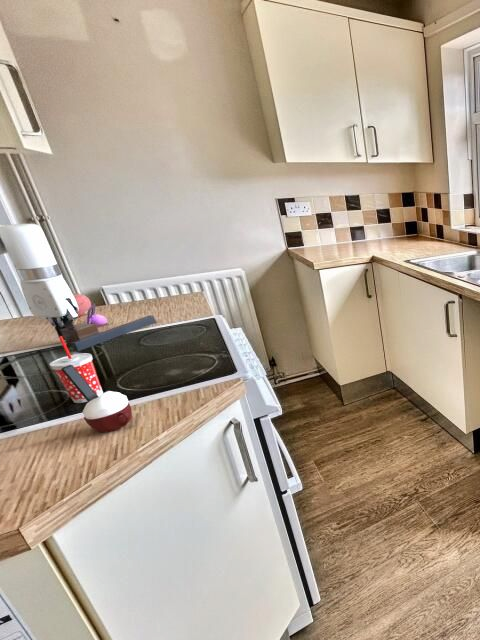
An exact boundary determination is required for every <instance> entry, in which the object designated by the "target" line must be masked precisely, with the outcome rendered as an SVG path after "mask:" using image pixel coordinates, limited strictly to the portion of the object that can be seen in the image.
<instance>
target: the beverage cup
mask: <svg viewBox="0 0 480 640" xmlns="http://www.w3.org/2000/svg"><path fill="white" fill-rule="evenodd" d="M58 339H59V341H60V343H61V346H62V347H63V350H64V352H65V354H66V356H62V357H59V358H55V360H53V361H51V362H50V363H49V364H48V365H49V366H50V368H51V369H52V370H54V372H55V373H56V375H57V377H58V378H59V380H60V382H61V383H62V385H63V387H64V388H65V390H66V392H67V393H68V395H69V397H70V399H71V400H72V402H73V403H75V404H82V403H88V401H87V400H86V399H85V398H84V396H83V395H82V394H81V393H80V392H79V391H78V389H77V388H76V387H75V386H74V385H73V383H72V382H71V381H70V380H69V379H68V377H67V376H66V375H65V374H64V373H63V371H62V370H61V369H62V368H63V367H66V366H68V365H73V366H74V368H75V369H76V370H77V371H78V372H79V374H80V375H81V376H82V377H83V378H84V380H85V381H86V382H87V383H88V385H89V386H90V387H91V388H92V389H93V391H94V392H95V393H96V394H97V395H98V397H100V396H101V395H102V394H103V393H104V391H103V388H102V386H101V385H102V384H101V383H100V379H99V377H98V374H97V371H96V368H95V365H94V362H93V355H92V354H91V353H86V352H84V353H75V354H71V353H70V350H69V349H68V345H67V343H66V341H65V340H63V337H62V336H58Z"/></svg>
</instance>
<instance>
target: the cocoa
mask: <svg viewBox="0 0 480 640" xmlns="http://www.w3.org/2000/svg"><path fill="white" fill-rule="evenodd" d="M61 370H62V371H63V373H64V374H65V375H66V376H67V377H68V379H69V380H70V381H71V382H72V383H73V385H74V386H75V387H76V388H77V389H78V391H79V392H80V393H81V394H82V395H83V396H84V398H85V399H86V400H87V401H88V402H86V404H85V406H84V408H83V410H82V414H83V419H84V421H85V422H86V424H87V425H88V426H89V427H90V428H92V429H93V430H95V431H97V432H99V433H109V432H114V431H117V430H120V429H122V428H123V427H126V426H127V424H129V423H130V422H131V420H132V416H133V413H132V407H131V404H130V402H129V399H128V397H127V395H125V394H122V393H121V392H118V391H111V390H106V391H105V392H103V394H102V395H101V396H100V397H98V395H97V394H96V393H95V392H94V391H93V389H92V388H91V387H90V386H89V385H88V383H87V382H86V381H85V380H84V378H83V377H82V376H81V375H80V374H79V372H78V371H77V370H76V369H75V368H74V366H73V365H68V366H66V367H63V368H62V369H61Z"/></svg>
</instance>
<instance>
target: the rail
mask: <svg viewBox="0 0 480 640" xmlns="http://www.w3.org/2000/svg"><path fill="white" fill-rule="evenodd" d="M155 323H157V321H156V318H155V316H154V315H147V316H144V317H140V318H137V319H135V320H131V321H129V322H126V323H123V324H121V325H118V326H115V327H111V328H109V329H106V330H104V331H101V332H100V331H99V333H98V334H95V335H92V336H89V337H86V338H83V339H80V340H77V341H75V342H72V343H70V344H71V346H70V347H71V348H72V350H73V352H79V351H83V350H86V349H88V348H91V347H94V346H96V345H99V344H102V343H105V342H107V341H110V340H112V339H116V338H118V337H121V336H123V335H126V334H129V333H131V332H134V331H137V330H140V329H142V328H146V327H148V326H151V325H153V324H155Z"/></svg>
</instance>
